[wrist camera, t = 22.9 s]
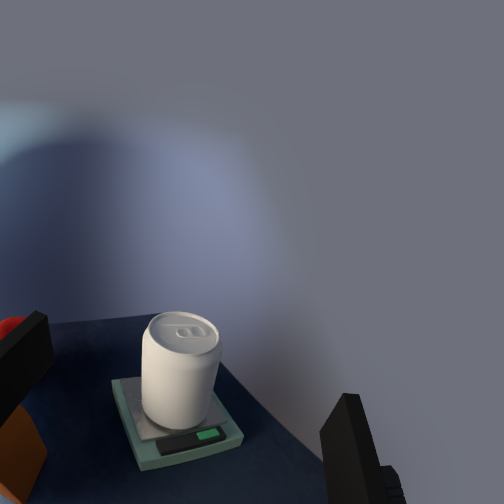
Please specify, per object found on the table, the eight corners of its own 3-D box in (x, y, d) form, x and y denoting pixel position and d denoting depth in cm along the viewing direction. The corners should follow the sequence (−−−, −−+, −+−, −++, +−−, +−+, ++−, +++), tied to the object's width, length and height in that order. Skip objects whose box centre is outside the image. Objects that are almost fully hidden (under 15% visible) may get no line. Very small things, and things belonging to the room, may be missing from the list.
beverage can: (135, 387, 33) (136, 309, 29) (193, 380, 37) (206, 306, 33) (152, 437, 27) (154, 362, 23) (218, 425, 31) (238, 352, 27)
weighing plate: (227, 423, 32) (228, 420, 32) (141, 442, 26) (141, 440, 26) (194, 371, 40) (194, 368, 40) (119, 381, 34) (119, 378, 33)
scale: (240, 445, 32) (246, 430, 30) (140, 471, 24) (139, 457, 23) (197, 379, 41) (200, 362, 40) (112, 391, 34) (110, 373, 33)
